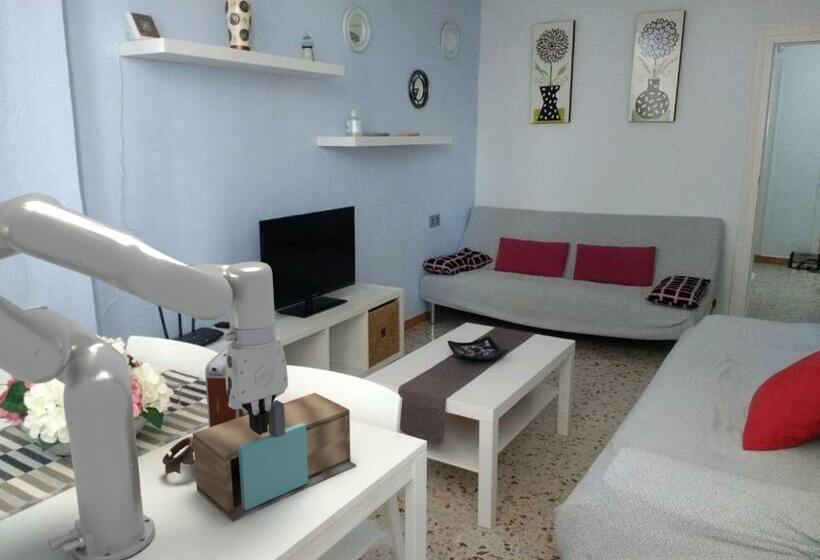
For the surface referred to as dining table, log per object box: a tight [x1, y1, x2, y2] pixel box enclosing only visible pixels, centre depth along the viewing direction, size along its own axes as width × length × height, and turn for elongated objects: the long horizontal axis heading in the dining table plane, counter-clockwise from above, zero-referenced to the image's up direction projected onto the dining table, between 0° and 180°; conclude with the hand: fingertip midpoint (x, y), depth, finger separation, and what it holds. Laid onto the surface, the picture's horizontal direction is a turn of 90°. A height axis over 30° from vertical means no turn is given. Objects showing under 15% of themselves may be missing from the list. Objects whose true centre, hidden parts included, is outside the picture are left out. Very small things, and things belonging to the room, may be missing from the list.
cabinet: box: [192, 392, 357, 522], centre depth 125 cm, size 28×14×12 cm, turn 134°
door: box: [238, 399, 308, 511], centre depth 117 cm, size 14×2×18 cm, turn 134°
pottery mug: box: [161, 436, 195, 474], centre depth 129 cm, size 12×10×8 cm
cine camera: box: [204, 346, 249, 428], centre depth 144 cm, size 9×19×20 cm, turn 174°
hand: (259, 431), depth 114 cm, fingers closed
